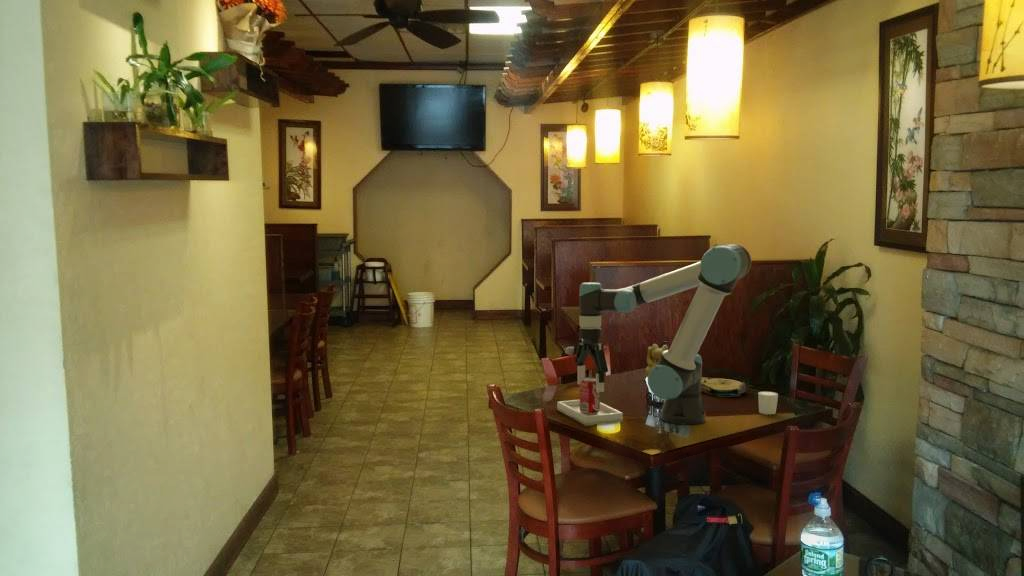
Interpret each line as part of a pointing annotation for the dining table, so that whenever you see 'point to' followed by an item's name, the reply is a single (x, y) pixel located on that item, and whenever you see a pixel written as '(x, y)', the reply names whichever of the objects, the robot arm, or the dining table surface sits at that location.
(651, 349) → the decorative figurine
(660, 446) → the dining table surface
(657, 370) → the robot arm
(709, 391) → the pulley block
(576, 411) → the bussing tray
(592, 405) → the soda can
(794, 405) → the dining table surface
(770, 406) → the white cup
